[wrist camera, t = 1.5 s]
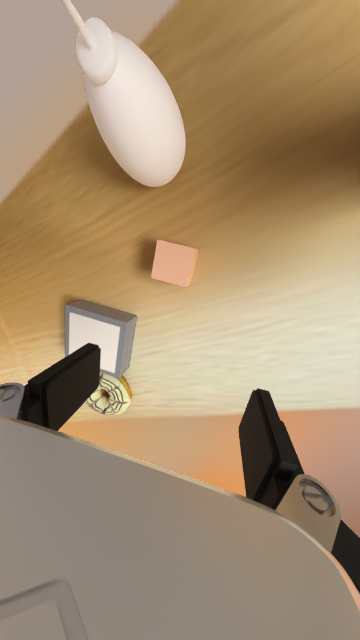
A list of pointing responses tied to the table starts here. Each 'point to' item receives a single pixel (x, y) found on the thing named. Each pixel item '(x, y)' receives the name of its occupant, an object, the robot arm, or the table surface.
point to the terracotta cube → (174, 263)
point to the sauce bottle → (129, 103)
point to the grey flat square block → (101, 334)
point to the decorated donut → (110, 395)
